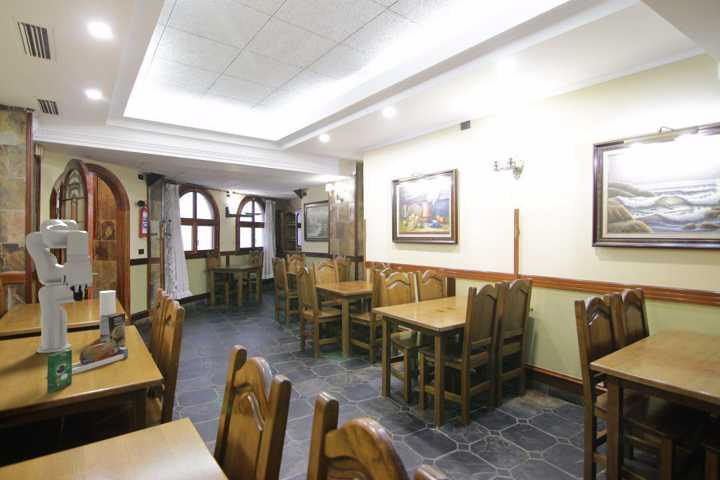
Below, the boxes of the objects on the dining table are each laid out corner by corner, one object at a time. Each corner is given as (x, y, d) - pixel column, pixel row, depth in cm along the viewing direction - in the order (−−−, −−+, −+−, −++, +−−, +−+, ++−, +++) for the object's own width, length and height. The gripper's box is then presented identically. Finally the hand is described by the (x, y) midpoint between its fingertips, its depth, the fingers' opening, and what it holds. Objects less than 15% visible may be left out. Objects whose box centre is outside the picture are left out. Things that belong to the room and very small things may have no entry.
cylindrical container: (109, 339, 195) (109, 292, 195) (96, 339, 195) (96, 292, 195) (118, 335, 202) (118, 290, 202) (106, 335, 202) (105, 290, 202)
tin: (82, 369, 151) (81, 349, 151) (78, 368, 153) (78, 348, 153) (120, 358, 165) (120, 340, 165) (116, 357, 166) (116, 339, 166)
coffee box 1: (65, 383, 138) (65, 348, 137) (73, 383, 137) (72, 348, 137) (46, 392, 129) (46, 355, 129) (54, 392, 129) (54, 355, 129)
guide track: (47, 376, 144) (47, 366, 143) (118, 355, 169) (118, 346, 169) (57, 379, 141) (57, 369, 141) (127, 357, 167) (127, 348, 167)
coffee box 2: (110, 350, 176) (110, 317, 176) (99, 349, 178) (99, 316, 177) (126, 344, 185) (126, 313, 185) (115, 343, 187) (115, 312, 186)
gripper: (90, 257, 168) (91, 297, 168) (52, 259, 154) (53, 303, 154) (101, 258, 165) (101, 298, 165) (63, 260, 151) (63, 304, 151)
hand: (78, 300), depth 160 cm, fingers closed
